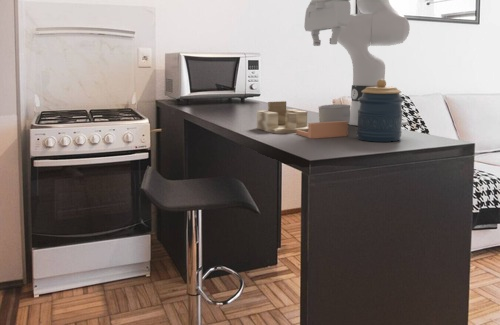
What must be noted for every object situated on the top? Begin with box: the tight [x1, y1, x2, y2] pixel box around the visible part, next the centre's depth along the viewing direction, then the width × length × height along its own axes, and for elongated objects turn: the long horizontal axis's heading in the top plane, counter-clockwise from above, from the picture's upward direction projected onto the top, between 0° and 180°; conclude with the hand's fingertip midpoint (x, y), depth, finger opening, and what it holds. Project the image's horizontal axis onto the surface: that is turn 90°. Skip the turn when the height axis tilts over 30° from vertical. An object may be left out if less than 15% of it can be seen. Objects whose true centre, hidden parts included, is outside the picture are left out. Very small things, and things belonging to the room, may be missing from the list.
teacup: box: [317, 103, 351, 125], centre depth 170 cm, size 14×11×8 cm
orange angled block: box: [295, 121, 349, 139], centre depth 154 cm, size 10×13×4 cm
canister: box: [356, 79, 404, 143], centre depth 144 cm, size 13×13×18 cm
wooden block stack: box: [256, 100, 308, 134], centre depth 165 cm, size 14×15×9 cm
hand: (324, 45), depth 147 cm, fingers open, 8 cm apart
